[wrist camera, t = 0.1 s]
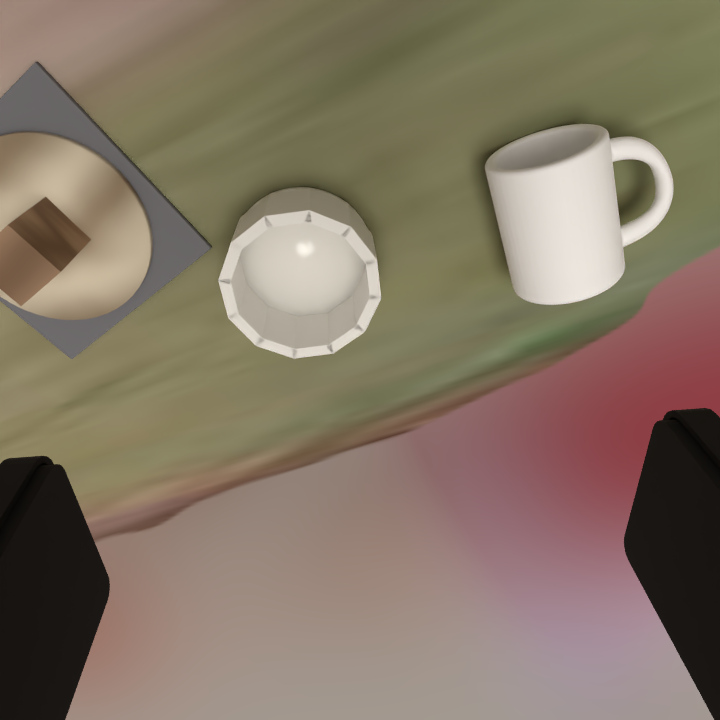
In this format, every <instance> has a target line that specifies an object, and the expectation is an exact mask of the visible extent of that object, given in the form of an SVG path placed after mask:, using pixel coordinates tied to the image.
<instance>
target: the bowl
mask: <svg viewBox="0 0 720 720" xmlns="http://www.w3.org/2000/svg"><path fill="white" fill-rule="evenodd" d="M218 281H219V285H220V288H221V292H222V296H223V300H224V303H225V307H226V311H227V315H228V318H229V319H230V320H231V321H232V322H233V323H234V324H235V325H236V326H237V327H238V328H239V329H240V330H241V331H242V332H243V333H244V334H245V335H246V336H247V337H248V338H249V339H250V340H251V341H252V342H253V343H254V344H255V345H256V346H258V347H261V348H264V349H267V350H270V351H273V352H276V353H279V354H282V355H285V356H288V357H291V358H301V357H309V356H317V355H325V354H333V353H334V352H336V351H337V350H339V349H340V348H342V347H343V346H345V345H346V344H348V343H349V342H351V341H352V340H354V339H355V338H357V337H358V336H360V335H361V334H363V333H364V332H365V330H366V328H367V326H368V324H369V322H370V320H371V318H372V316H373V314H374V312H375V310H376V308H377V306H378V304H379V302H380V300H381V292H380V283H379V273H378V264H377V256H376V251H375V246H374V241H373V237H372V233H371V232H370V231H369V229H368V228H367V226H366V224H365V222H364V221H363V219H362V218H361V217H360V215H359V214H358V213H357V212H356V211H355V209H354V208H353V207H351V206H350V205H349V203H347V202H346V201H344V200H343V199H341V198H340V197H338V196H336V195H334V194H332V193H330V192H327V191H324V190H321V189H316V188H311V187H291V188H286V189H281V190H278V191H275V192H272V193H270V194H269V195H267V196H265V197H263V198H262V199H260V200H259V201H257V202H256V203H255V204H254V205H253V206H252V207H250V208H249V210H248V211H247V212H246V213H245V214H244V215H243V216H241V217H240V219H239V222H238V224H237V227H236V230H235V233H234V235H233V238H232V241H231V244H230V247H229V250H228V253H227V256H226V259H225V262H224V265H223V268H222V271H221V274H220V277H219V280H218Z"/></svg>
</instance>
